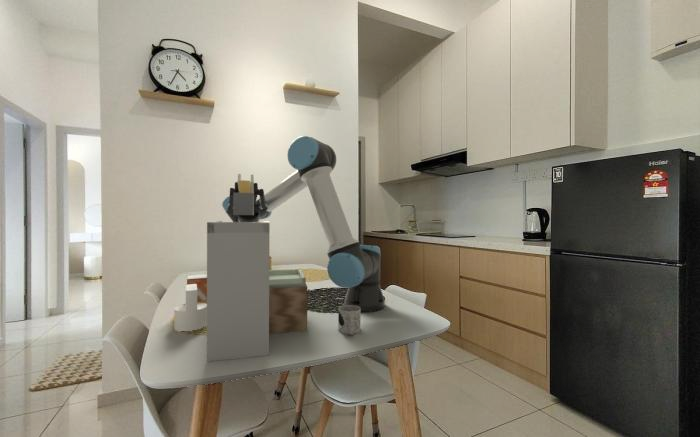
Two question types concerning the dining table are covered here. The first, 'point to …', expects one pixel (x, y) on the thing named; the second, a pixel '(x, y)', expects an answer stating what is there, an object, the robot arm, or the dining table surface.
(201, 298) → the small box
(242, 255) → the grey tall block
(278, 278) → the tray
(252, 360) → the dining table surface
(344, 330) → the mug
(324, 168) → the robot arm
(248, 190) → the yellow grey boxy piece
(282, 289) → the riser
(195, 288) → the base with upright slab
